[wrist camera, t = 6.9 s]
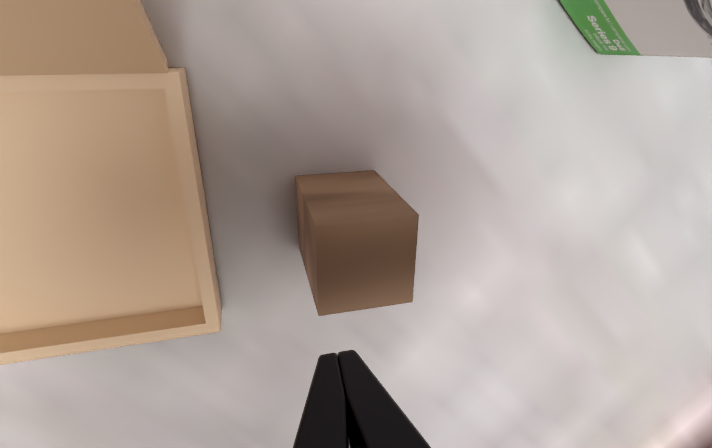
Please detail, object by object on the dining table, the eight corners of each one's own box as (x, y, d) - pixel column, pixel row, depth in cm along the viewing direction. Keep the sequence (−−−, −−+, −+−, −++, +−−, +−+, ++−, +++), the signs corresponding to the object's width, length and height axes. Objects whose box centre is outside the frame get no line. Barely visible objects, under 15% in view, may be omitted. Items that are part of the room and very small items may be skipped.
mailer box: (222, 308, 22) (220, 331, 20) (-136, 357, 19) (-175, 391, 17) (184, 68, 17) (178, 71, 16) (-310, 74, 14) (-391, 79, 12)
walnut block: (372, 240, 23) (412, 301, 18) (299, 248, 22) (318, 316, 17) (374, 170, 21) (418, 214, 16) (295, 175, 20) (315, 224, 15)
